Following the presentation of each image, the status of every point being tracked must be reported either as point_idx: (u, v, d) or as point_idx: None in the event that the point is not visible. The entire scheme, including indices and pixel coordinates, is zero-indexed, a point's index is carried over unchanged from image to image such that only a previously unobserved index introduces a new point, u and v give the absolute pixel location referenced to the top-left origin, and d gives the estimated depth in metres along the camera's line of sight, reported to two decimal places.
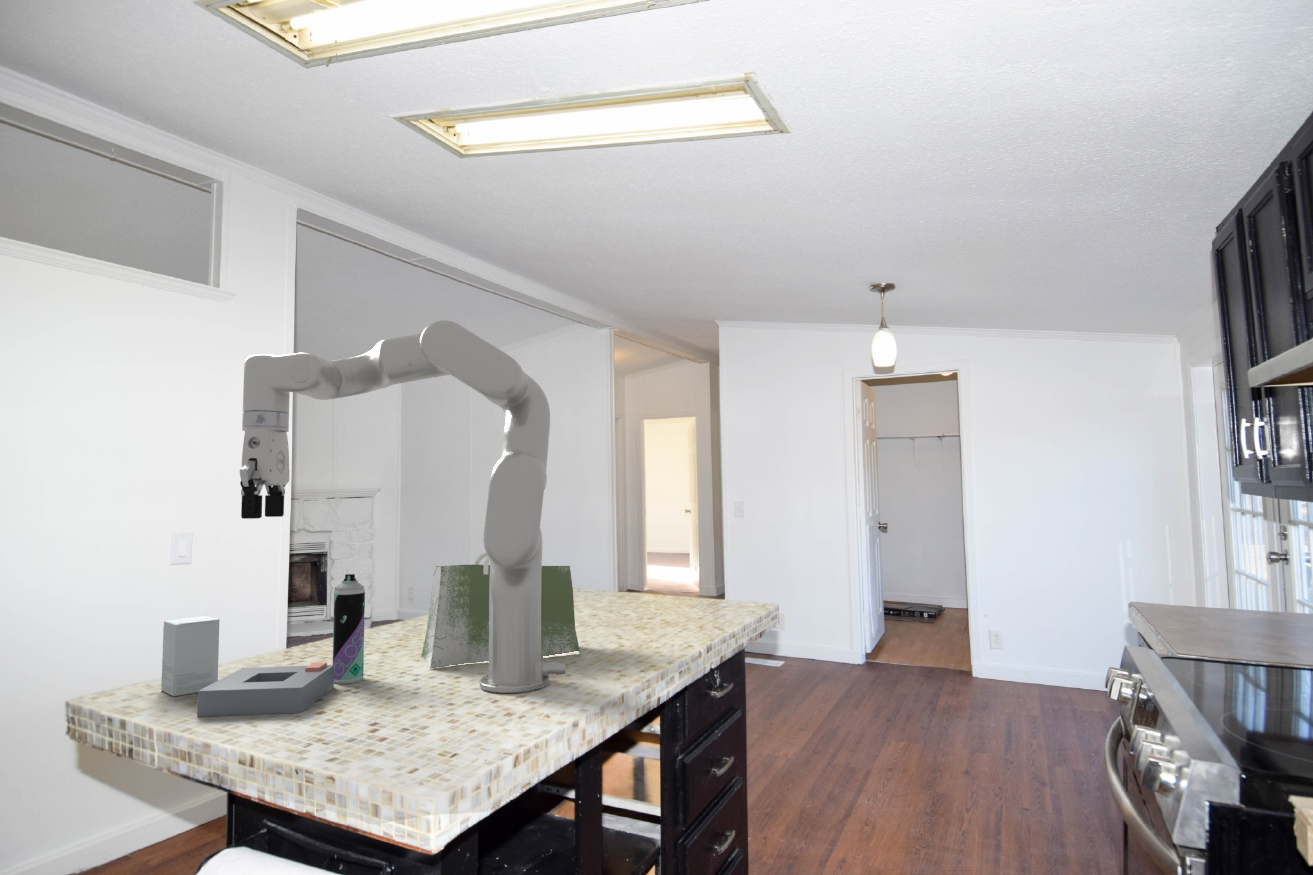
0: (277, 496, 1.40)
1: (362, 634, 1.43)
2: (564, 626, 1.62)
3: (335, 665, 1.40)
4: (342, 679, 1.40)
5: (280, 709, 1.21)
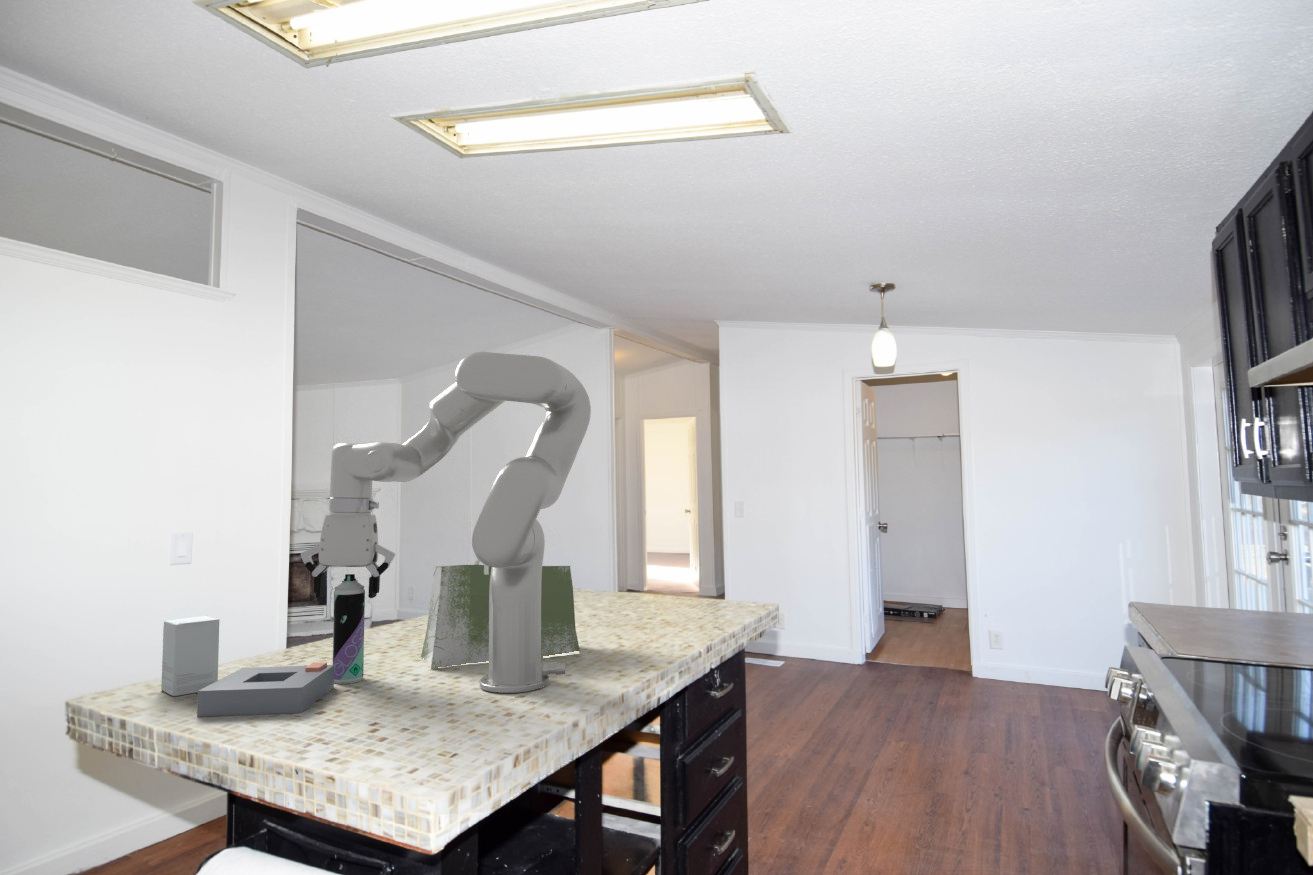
0: (324, 576, 1.44)
1: (362, 634, 1.43)
2: (565, 626, 1.62)
3: (335, 665, 1.40)
4: (342, 679, 1.40)
5: (280, 709, 1.21)
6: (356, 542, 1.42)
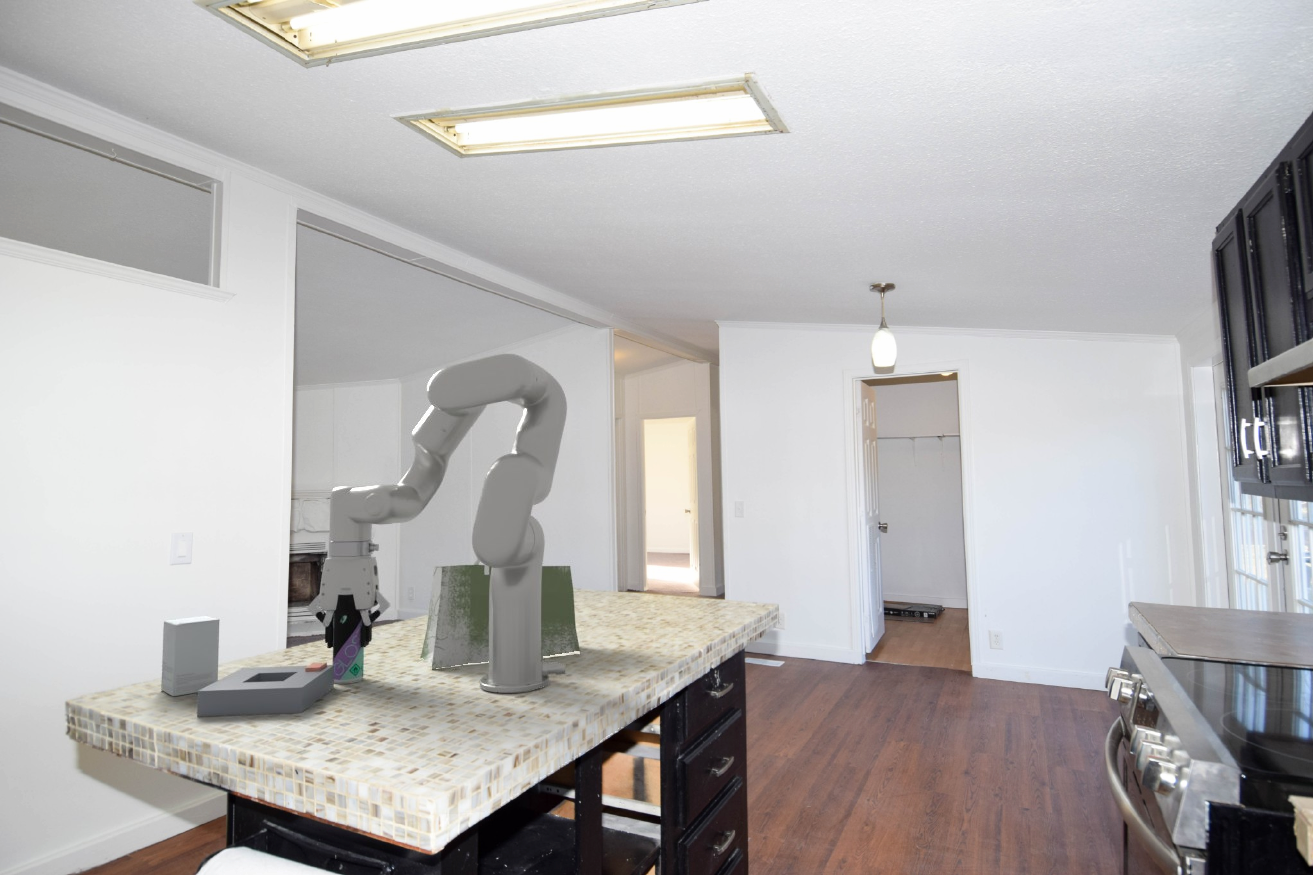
0: None
1: None
2: (565, 626, 1.62)
3: (335, 665, 1.40)
4: (342, 679, 1.40)
5: (280, 709, 1.21)
6: (357, 586, 1.41)
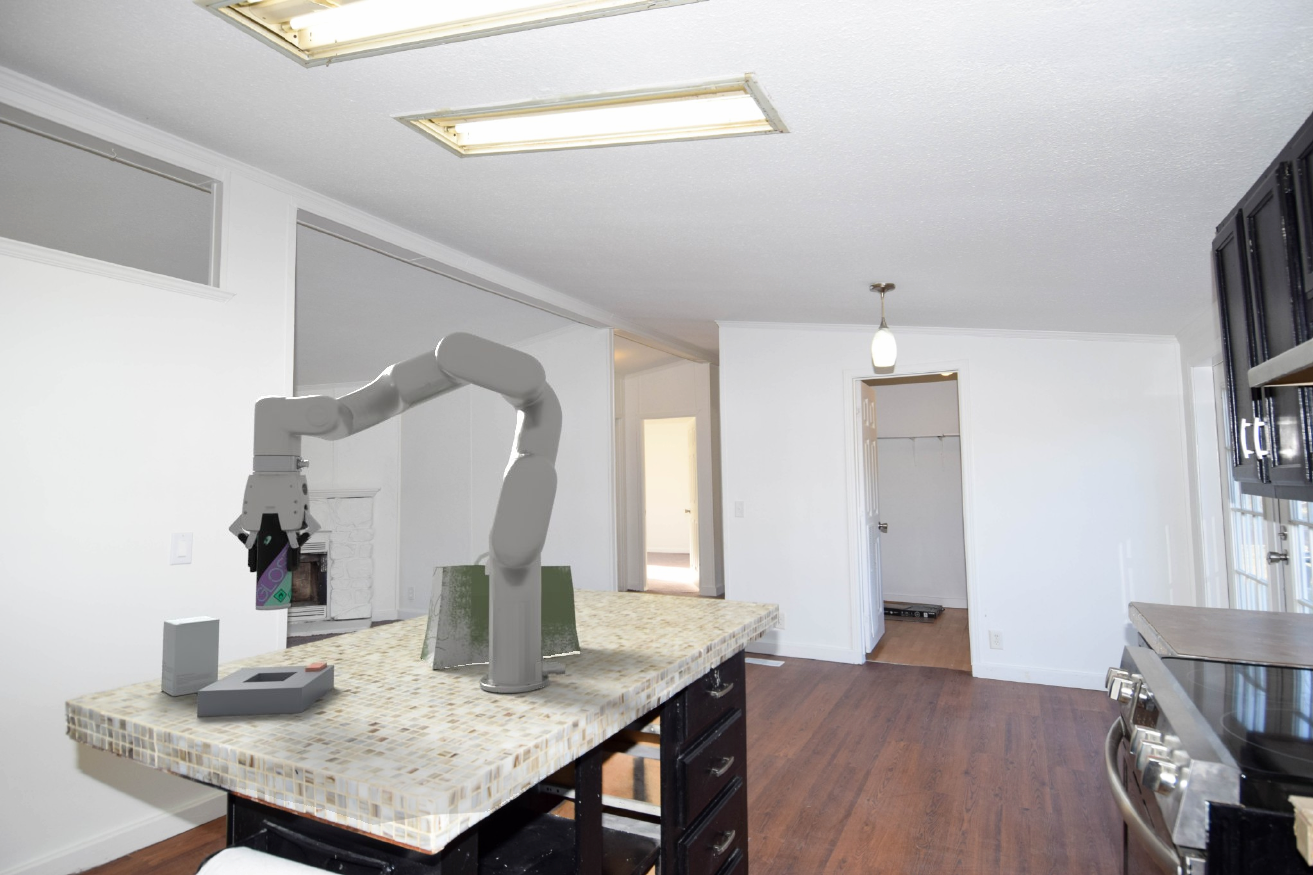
0: None
1: None
2: (566, 626, 1.62)
3: (258, 591, 1.28)
4: (265, 605, 1.27)
5: (280, 709, 1.21)
6: (283, 504, 1.29)
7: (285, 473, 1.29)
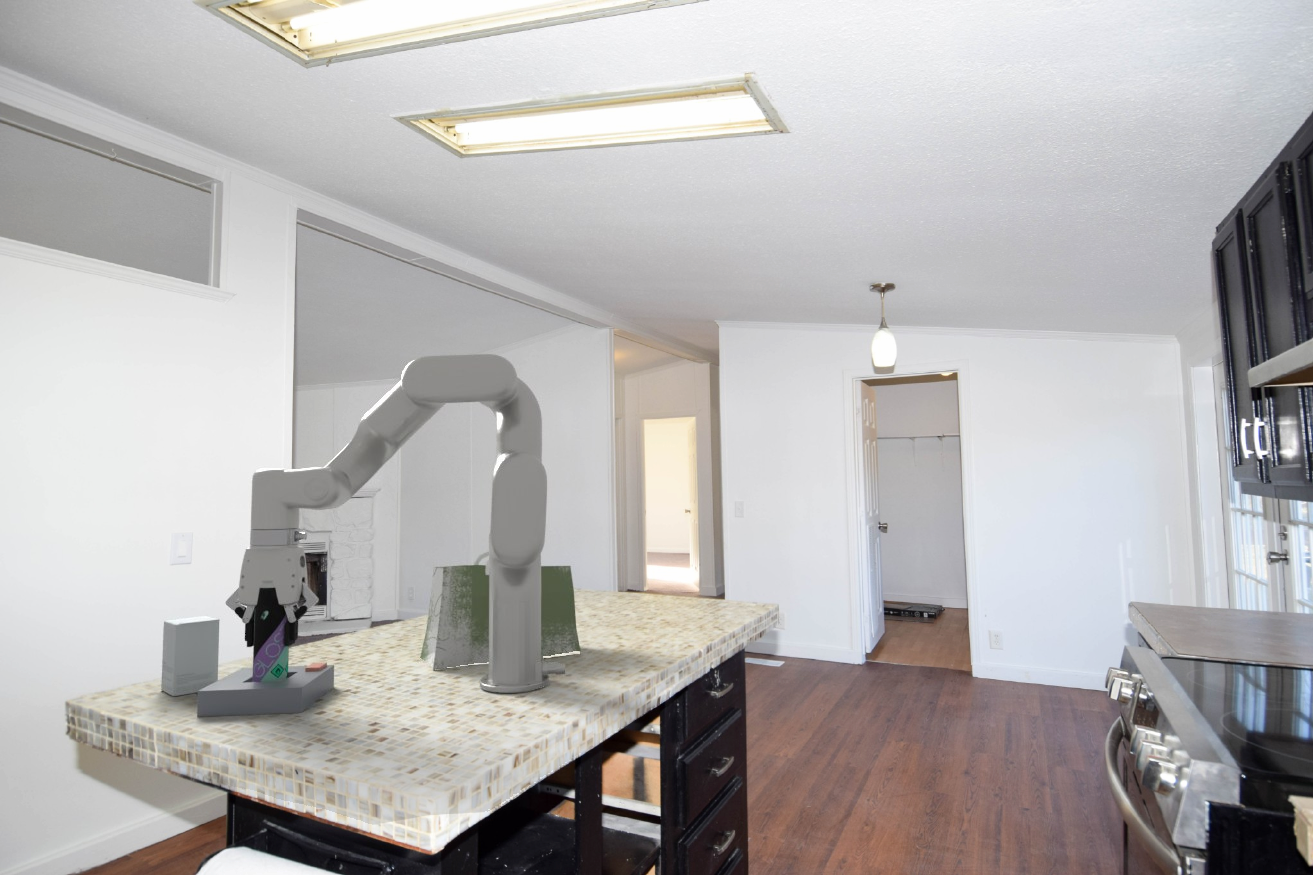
0: None
1: None
2: (566, 626, 1.62)
3: (255, 666, 1.27)
4: (262, 681, 1.26)
5: (280, 709, 1.21)
6: (280, 578, 1.28)
7: (283, 547, 1.28)
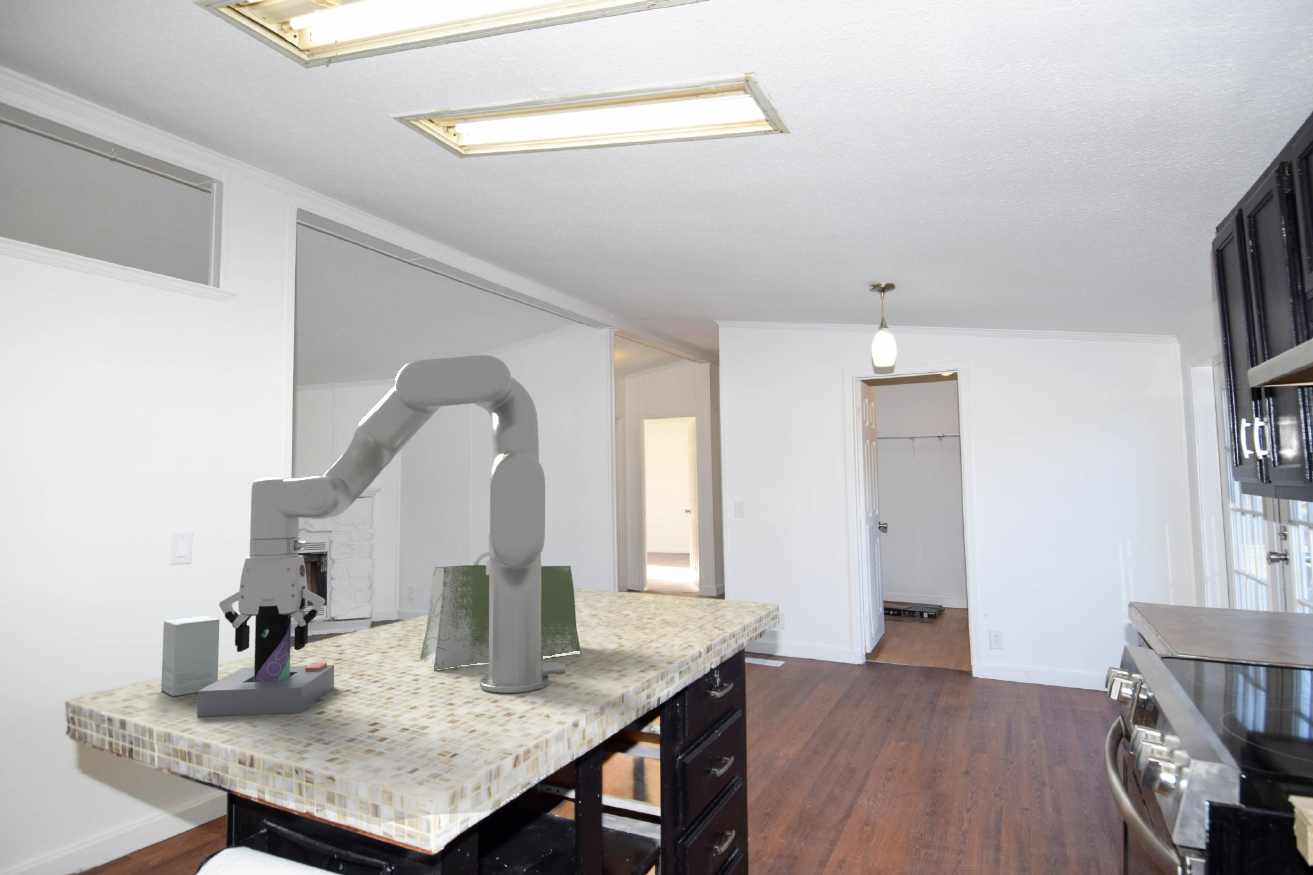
0: (247, 627, 1.30)
1: (287, 649, 1.29)
2: (566, 626, 1.62)
3: None
4: None
5: (280, 709, 1.21)
6: (280, 588, 1.28)
7: (282, 556, 1.28)
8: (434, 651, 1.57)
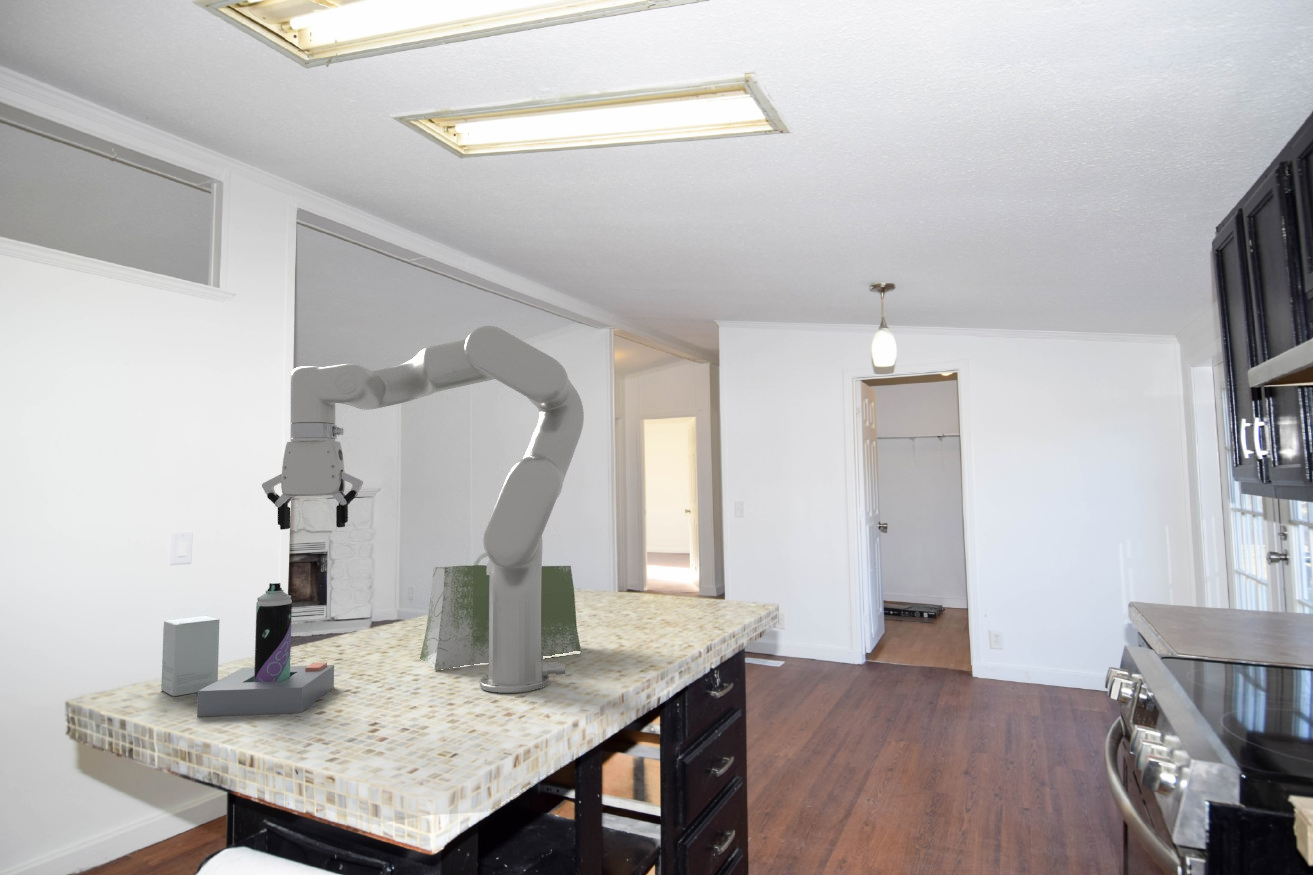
0: (288, 508, 1.37)
1: (288, 650, 1.29)
2: (566, 626, 1.62)
3: None
4: None
5: (280, 709, 1.21)
6: (321, 469, 1.35)
7: (322, 439, 1.35)
8: (434, 651, 1.56)
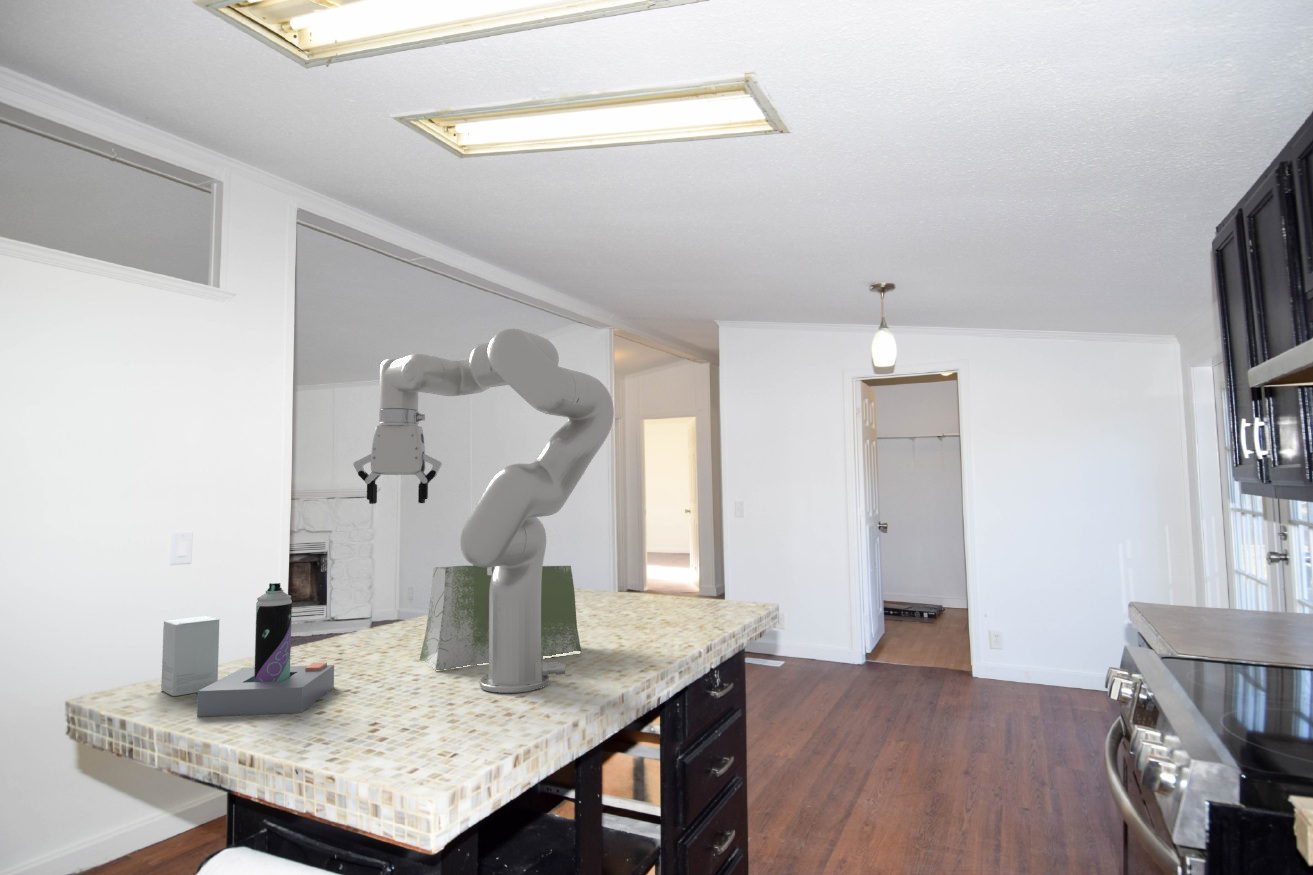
0: (375, 485, 1.53)
1: (288, 650, 1.29)
2: (567, 625, 1.62)
3: None
4: None
5: (280, 709, 1.21)
6: (406, 450, 1.51)
7: (408, 424, 1.51)
8: (434, 652, 1.56)
